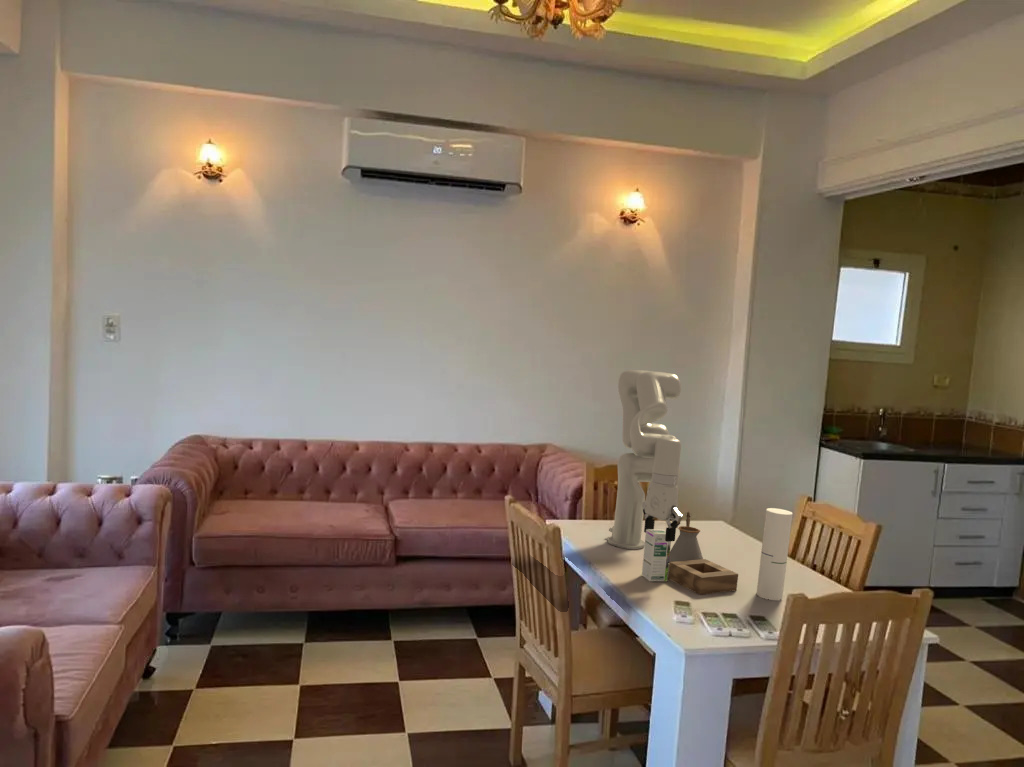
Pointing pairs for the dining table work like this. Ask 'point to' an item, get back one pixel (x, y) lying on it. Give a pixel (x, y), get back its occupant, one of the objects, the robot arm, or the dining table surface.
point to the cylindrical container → (774, 553)
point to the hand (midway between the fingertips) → (659, 536)
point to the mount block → (703, 576)
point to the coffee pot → (686, 544)
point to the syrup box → (656, 555)
